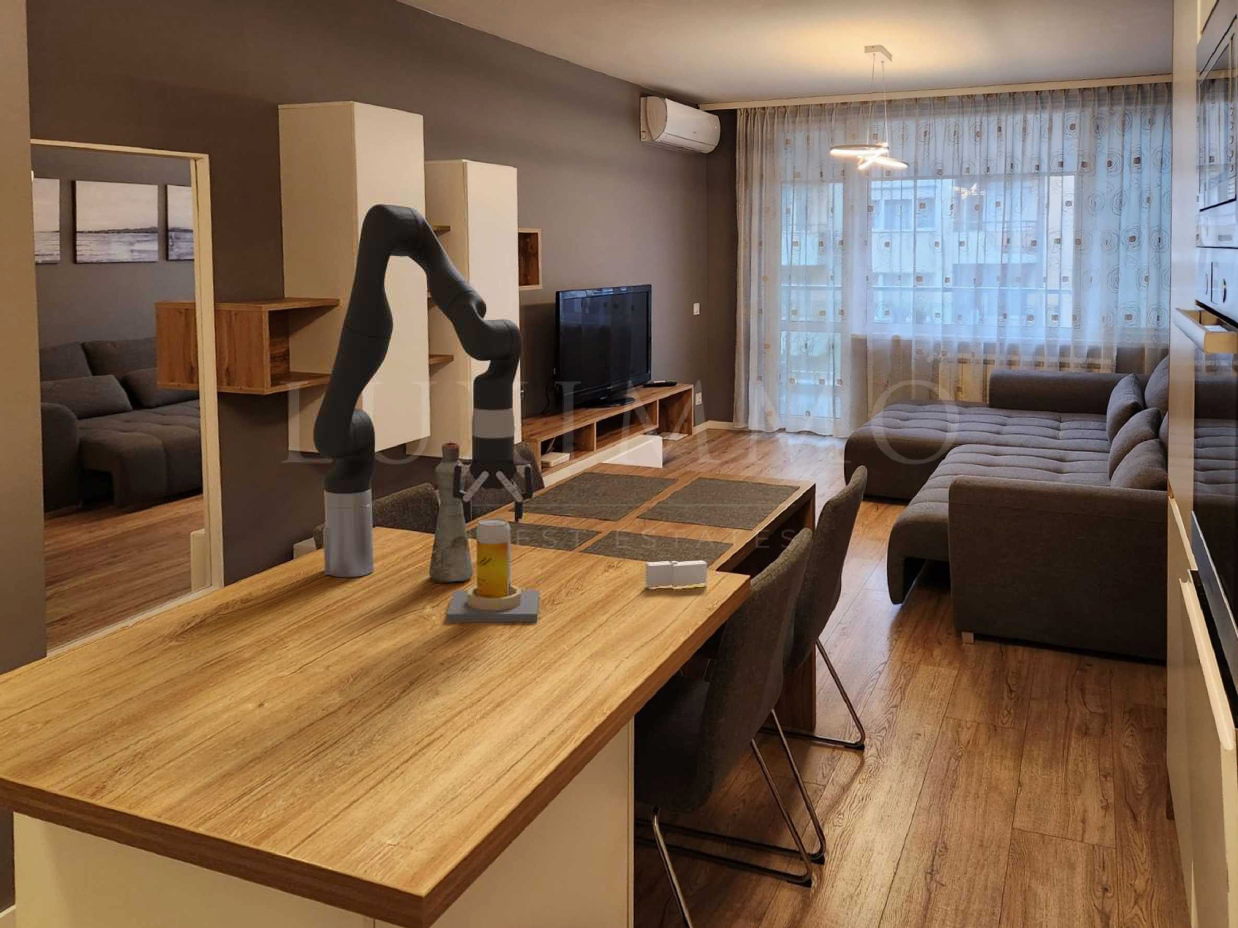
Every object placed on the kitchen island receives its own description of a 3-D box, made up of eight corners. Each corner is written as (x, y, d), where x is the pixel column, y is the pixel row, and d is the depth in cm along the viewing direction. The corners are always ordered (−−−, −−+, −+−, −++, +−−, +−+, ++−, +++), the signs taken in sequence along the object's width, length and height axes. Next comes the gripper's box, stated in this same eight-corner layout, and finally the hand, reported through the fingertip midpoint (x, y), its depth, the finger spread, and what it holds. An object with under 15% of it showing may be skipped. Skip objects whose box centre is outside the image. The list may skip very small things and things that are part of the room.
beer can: (477, 596, 206) (477, 518, 204) (510, 596, 207) (510, 517, 204) (476, 606, 201) (475, 526, 198) (510, 606, 201) (510, 525, 198)
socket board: (446, 622, 197) (446, 603, 196) (454, 597, 211) (454, 580, 210) (537, 621, 198) (537, 603, 197) (539, 597, 211) (539, 579, 211)
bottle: (437, 587, 217) (434, 446, 212) (423, 575, 225) (420, 439, 219) (479, 582, 221) (478, 443, 215) (464, 570, 229) (462, 436, 223)
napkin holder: (718, 585, 222) (718, 557, 221) (700, 601, 212) (701, 572, 211) (647, 576, 228) (648, 549, 227) (627, 591, 217) (627, 563, 216)
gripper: (450, 435, 194) (451, 525, 197) (532, 436, 194) (531, 526, 197) (455, 428, 201) (455, 515, 204) (534, 429, 202) (533, 516, 205)
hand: (493, 520), depth 201 cm, fingers open, 8 cm apart
